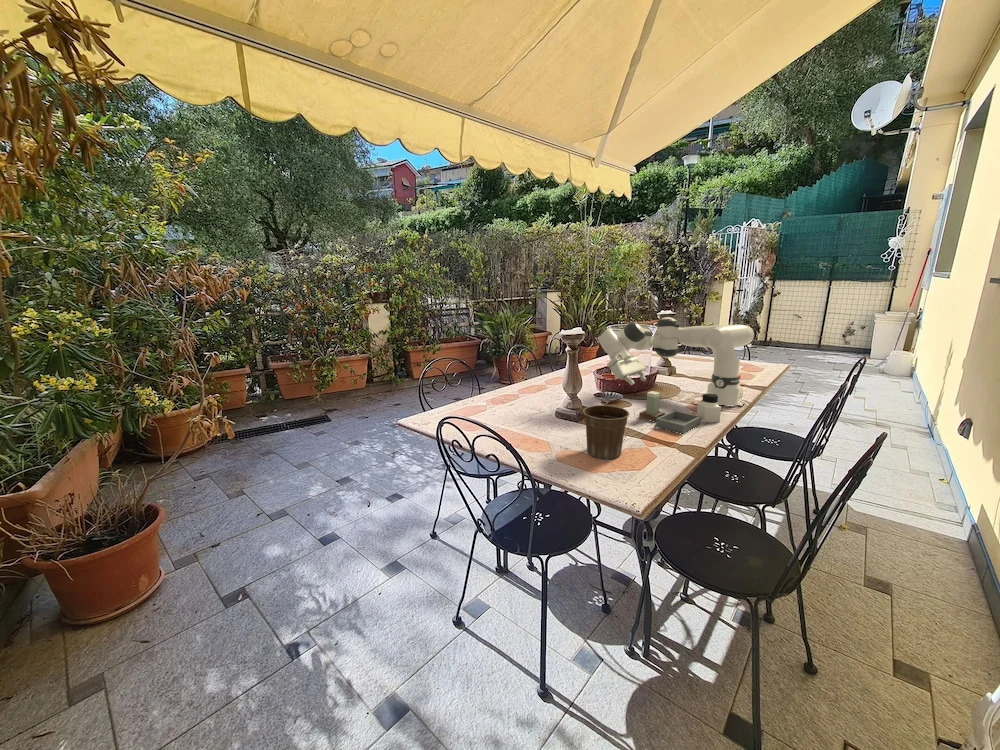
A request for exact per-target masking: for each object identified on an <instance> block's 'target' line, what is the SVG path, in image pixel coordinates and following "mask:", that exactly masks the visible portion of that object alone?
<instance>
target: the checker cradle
mask: <svg viewBox="0 0 1000 750" xmlns="http://www.w3.org/2000/svg"><path fill="white" fill-rule="evenodd" d="M665 414H666V412H662V411H660V410H659V413H658V414H656V416H654V415H650V414H646V409H645V410H643V411H641V412H639V415H638V418H639V419H642V418H643V420H645V419H647V420H646V421H649V420H651V421H650V422H653V421H654V422H653V423H656V418H658V417H661V416H663V415H665Z"/></svg>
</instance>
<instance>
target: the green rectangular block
mask: <svg viewBox="0 0 1000 750" xmlns="http://www.w3.org/2000/svg"><path fill="white" fill-rule="evenodd" d="M660 400H661V392H658V391H653V390H651V391H647V393H646V405H645V410H646V414H650V415H654V416H656V414H658V413H659V411H660Z"/></svg>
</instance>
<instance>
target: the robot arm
mask: <svg viewBox="0 0 1000 750" xmlns="http://www.w3.org/2000/svg"><path fill="white" fill-rule="evenodd" d="M681 326H682V324H681V323H680V322H679V321H678V320H677V319H676V318H674V317H670V316H665V317H662V318H660V319H658V320H657V321H656V332H655V335H654V336H652V335H653V333H652V331H653V330H652V331H651V328H649V327H648V326H646V325H643V324H642V325H641V324H639V323H638V322H633V321H630V322H628V323H627V324H626V325H625V327H624V328H623V329H621V330H620V331H619V332H618V333H617V334H616V333H615V332H614V331H613V329H612V328H610V327H609V328H606V329H604V330H602V332H601V333H600V334H598V337H597V340H598V342H599V344H600V346H601V347H602V349H603V351H604V352H605V353H607V355H608V358H609V359H610V361H609V362H607V364H606V365H607V368H609V369H610V371H611V373H612V375H613V376H614V377H615V378H616V379H618V380H622V379H623V380H624V381H625V382H627V383H628V384H629V385H630V386H633V385H635V383H636V382H635V381H634V380H633V379H632V378H630V377H632V376H635V375H638V376H639V377H640V381H641V382H645V381H646V380H647V378H646V375H645V372H644V371H645V370H647V366H646V365H645V364H644V362H642V360H641V359H640V358H639V357H637V356H634V355H632V354H631V353H630V351H631V349H632V348H633V349H635V350H637V351H646V350H649V349H652V348H651V347H652V345H653V348H654V349H653V351H654V352H655V353H656V354H657V356H660V357H662V358H665V359H668V358H669V359H670V358H674V357H675V356H677V354H678V351H679V348H678V347H679V344H680V345H683V346H685V347H687V346H688V347H693V348H710V349H711V352H712V354H713V360H714V361H713V371H712V374H711V381H710V382H709V383H708V384H707V388H706V389H707V391H706V393H714V394H716V395H718V402H717V404H718V405H741V404H739V401H740V400H741V398H742V397H744V388H743V386H741V384H740V380H741V377H742V375H739V374H740V373H739V372H740V365H741V359H739V358H738V357H737V356H736V353H735V348H740V347H743V346H747V345H748V344H750V343H752V342H753V340H754V338H755V332H754V330H753V328H751V326H749V325H745V324H718V325H717V324H715V325H693V326H685V327H681ZM653 337H654V339H653Z"/></svg>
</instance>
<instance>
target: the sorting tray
mask: <svg viewBox="0 0 1000 750" xmlns="http://www.w3.org/2000/svg"><path fill="white" fill-rule="evenodd" d="M701 419H702V417H701V416H697V414H692V413H688V412H683V411H681V410H676V409H675V410H673V411H670V412H668V413H665V415H663V416H661V417H658V418H656V422H655V428H658V427H659V429H662V428H663V429H662V430H665V429H667V430H666V431H669V430H670V431H669V432H672V431H674V432H673V433H676V432H678V433H677V434H679V433H681V434H680V435H685V434H686V432H687V433H689V432H690V431H692V430H694V429H696V428H698V427H700V426H701V425H702V421H701ZM699 425H700V426H699ZM697 426H698V427H697ZM695 427H696V428H695ZM693 428H694V429H693ZM691 429H692V430H691ZM689 430H690V431H689ZM688 431H689V432H688ZM684 433H685V434H684Z"/></svg>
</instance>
